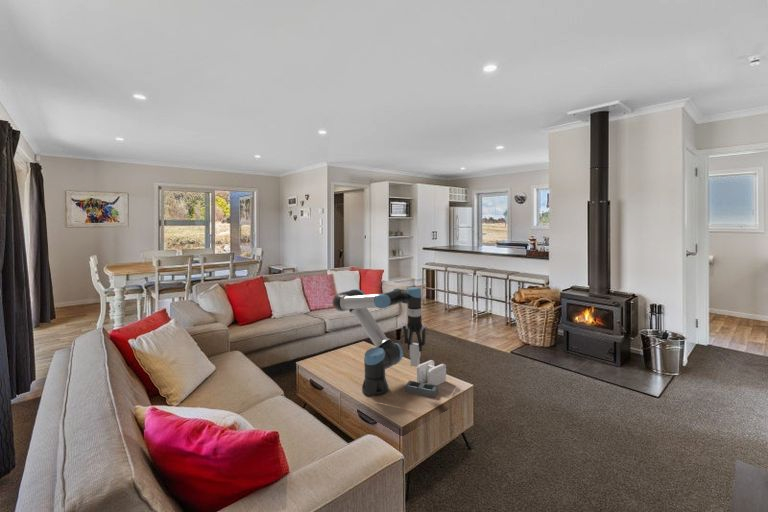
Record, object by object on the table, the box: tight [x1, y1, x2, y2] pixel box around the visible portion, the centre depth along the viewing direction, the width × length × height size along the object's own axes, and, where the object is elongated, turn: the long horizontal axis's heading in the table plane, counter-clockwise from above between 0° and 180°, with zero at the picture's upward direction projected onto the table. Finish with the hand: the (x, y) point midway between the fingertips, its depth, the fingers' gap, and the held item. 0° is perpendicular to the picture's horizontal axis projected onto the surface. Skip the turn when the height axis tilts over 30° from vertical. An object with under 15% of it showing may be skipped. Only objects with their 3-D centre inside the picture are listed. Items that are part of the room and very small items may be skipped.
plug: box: [409, 342, 421, 368], centre depth 206 cm, size 4×5×12 cm
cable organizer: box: [416, 359, 447, 386], centre depth 217 cm, size 15×11×12 cm
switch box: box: [404, 380, 439, 398], centre depth 207 cm, size 17×7×4 cm, turn 65°
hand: (415, 356), depth 206 cm, fingers closed on plug, 4 cm apart
